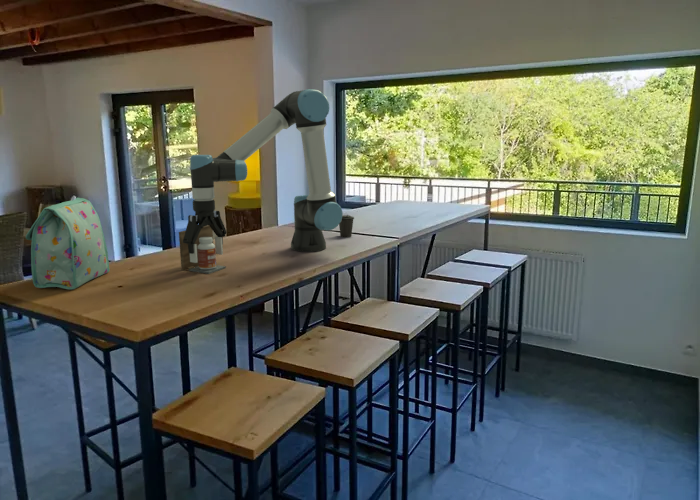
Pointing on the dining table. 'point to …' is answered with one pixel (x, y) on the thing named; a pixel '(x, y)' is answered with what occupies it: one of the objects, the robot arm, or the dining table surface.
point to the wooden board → (184, 251)
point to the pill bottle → (206, 253)
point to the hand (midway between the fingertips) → (207, 258)
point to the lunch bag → (67, 245)
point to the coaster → (207, 270)
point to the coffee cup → (346, 226)
